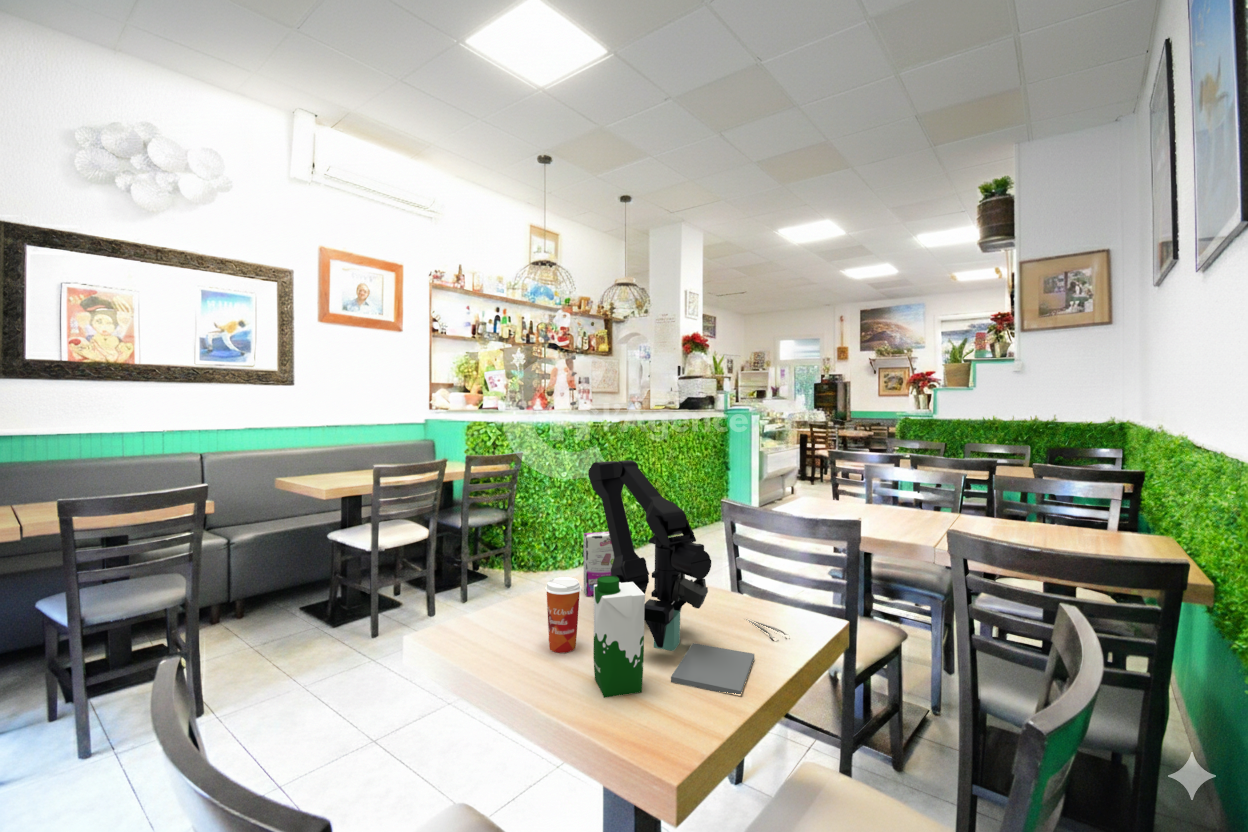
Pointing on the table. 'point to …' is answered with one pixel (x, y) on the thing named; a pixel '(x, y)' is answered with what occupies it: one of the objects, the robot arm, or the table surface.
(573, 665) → the table surface
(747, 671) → the board
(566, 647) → the paper cup
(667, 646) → the block
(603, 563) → the candy bar box
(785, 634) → the tweezers
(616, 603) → the milk carton
